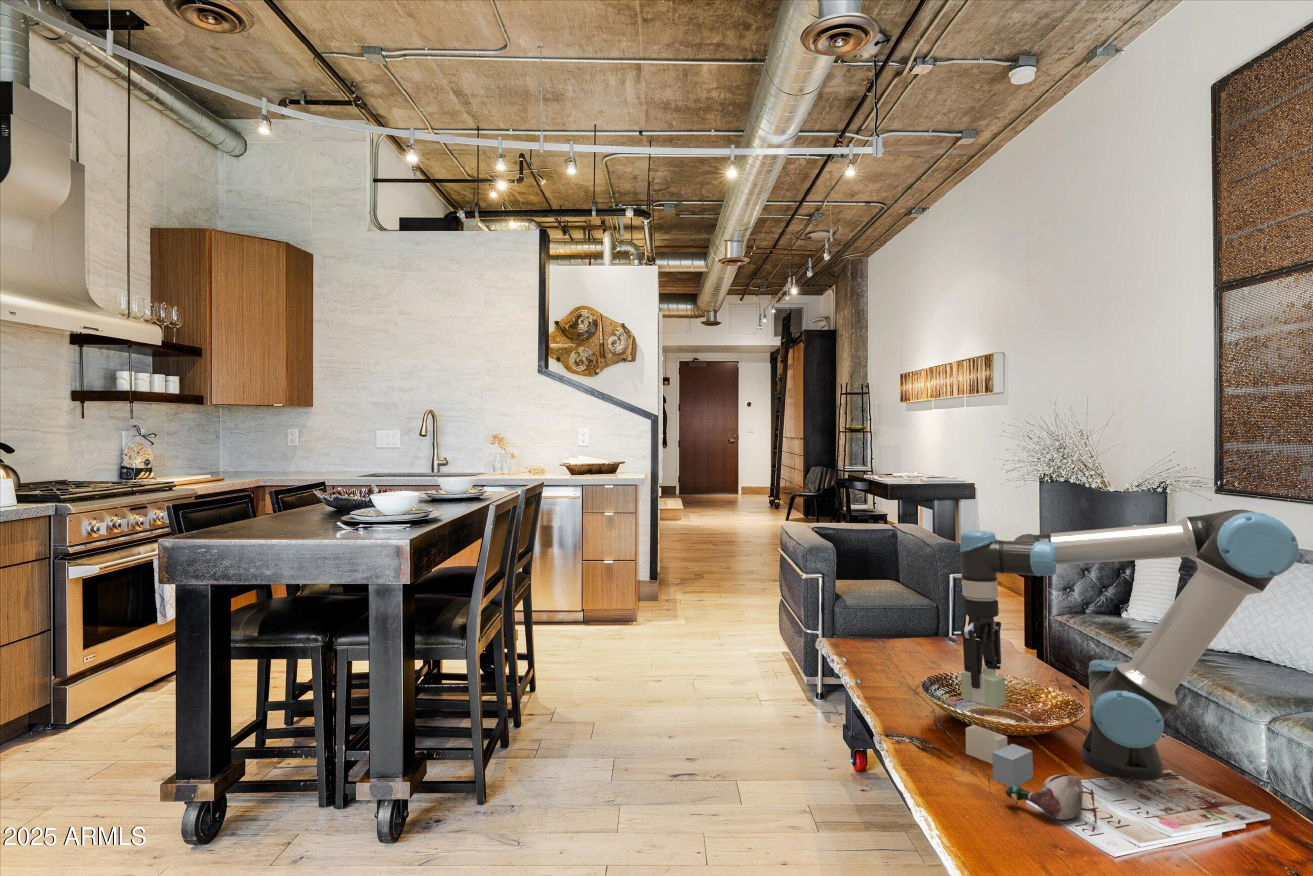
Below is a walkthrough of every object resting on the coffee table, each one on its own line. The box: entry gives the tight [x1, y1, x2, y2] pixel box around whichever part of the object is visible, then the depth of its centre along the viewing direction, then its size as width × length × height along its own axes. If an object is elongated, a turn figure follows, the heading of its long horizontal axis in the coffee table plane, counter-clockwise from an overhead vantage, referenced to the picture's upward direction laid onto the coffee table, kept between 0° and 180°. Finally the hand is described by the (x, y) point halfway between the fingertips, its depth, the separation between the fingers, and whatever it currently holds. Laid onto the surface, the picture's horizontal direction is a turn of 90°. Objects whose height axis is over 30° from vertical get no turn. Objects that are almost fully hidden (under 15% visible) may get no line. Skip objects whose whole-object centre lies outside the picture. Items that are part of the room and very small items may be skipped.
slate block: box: [992, 743, 1034, 788], centre depth 146 cm, size 8×4×6 cm, turn 123°
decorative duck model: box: [1005, 774, 1098, 825], centre depth 133 cm, size 15×8×15 cm
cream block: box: [965, 724, 1008, 765], centre depth 156 cm, size 8×4×6 cm, turn 33°
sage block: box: [960, 670, 1007, 709], centre depth 155 cm, size 8×4×6 cm, turn 35°
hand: (984, 699), depth 155 cm, fingers closed on sage block, 4 cm apart
